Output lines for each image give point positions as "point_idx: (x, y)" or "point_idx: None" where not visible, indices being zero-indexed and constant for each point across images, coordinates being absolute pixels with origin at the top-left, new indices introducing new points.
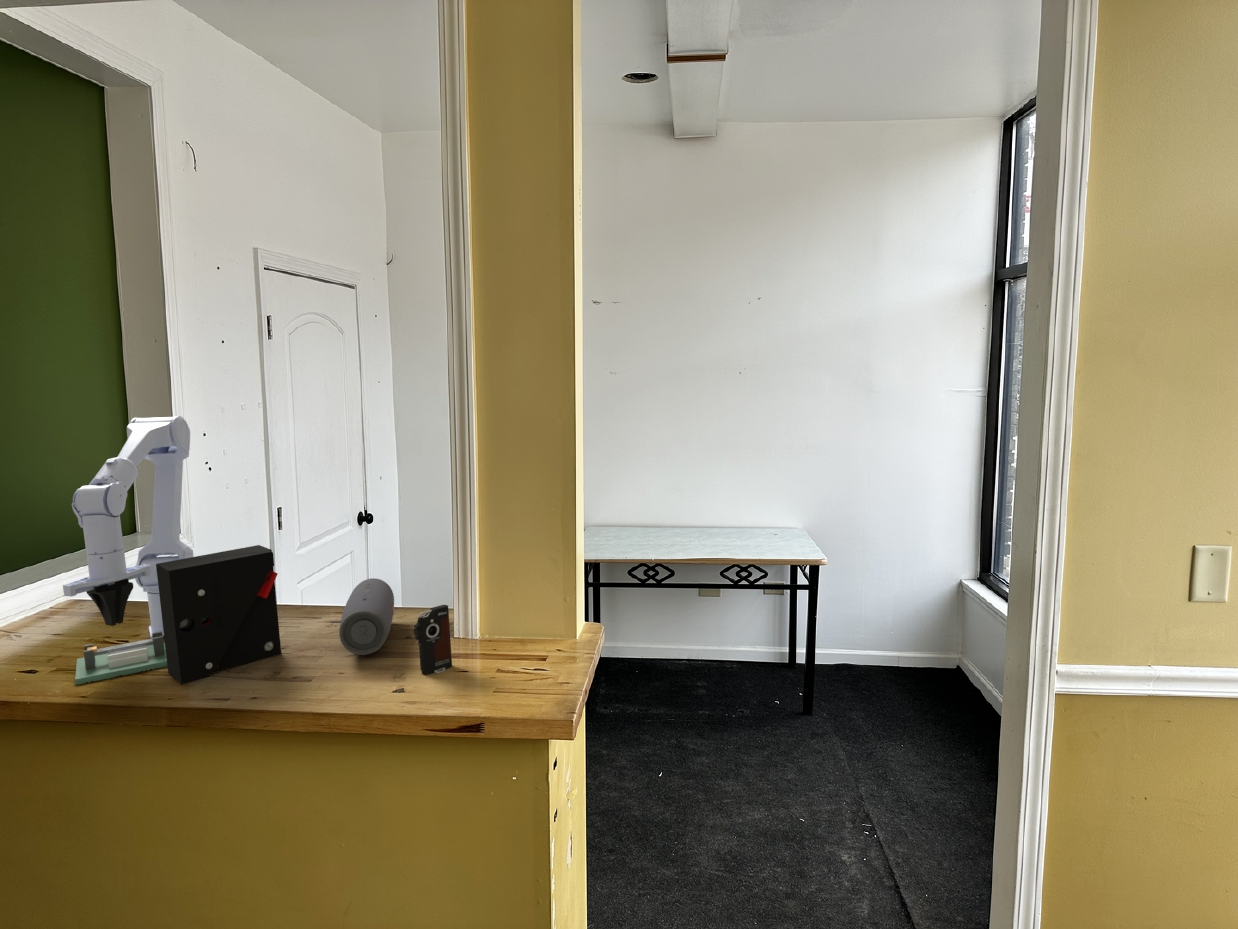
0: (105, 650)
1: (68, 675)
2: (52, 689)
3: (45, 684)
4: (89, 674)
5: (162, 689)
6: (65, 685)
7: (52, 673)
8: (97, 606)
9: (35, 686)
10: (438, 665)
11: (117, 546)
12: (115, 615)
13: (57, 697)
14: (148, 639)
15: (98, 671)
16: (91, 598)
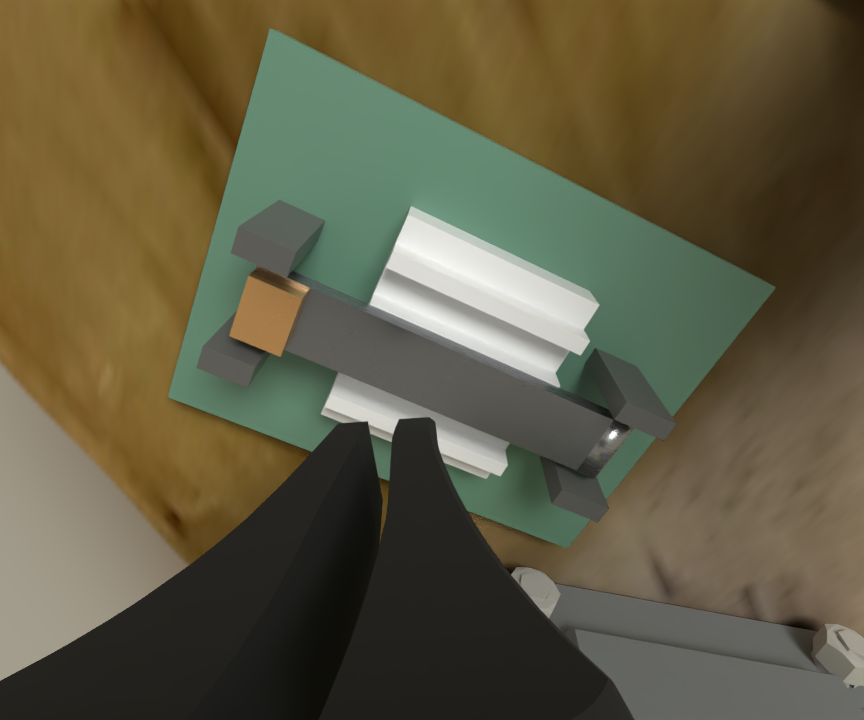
0: (330, 367)
1: (187, 205)
2: (89, 338)
3: (69, 233)
4: (234, 393)
5: None
6: (145, 341)
7: (124, 65)
8: (222, 544)
9: (23, 214)
10: None
11: None
12: (366, 587)
13: (93, 447)
14: (575, 411)
15: (277, 391)
16: (97, 629)
